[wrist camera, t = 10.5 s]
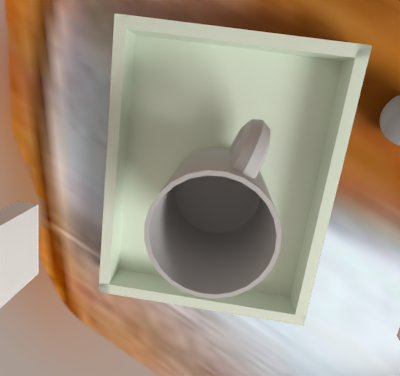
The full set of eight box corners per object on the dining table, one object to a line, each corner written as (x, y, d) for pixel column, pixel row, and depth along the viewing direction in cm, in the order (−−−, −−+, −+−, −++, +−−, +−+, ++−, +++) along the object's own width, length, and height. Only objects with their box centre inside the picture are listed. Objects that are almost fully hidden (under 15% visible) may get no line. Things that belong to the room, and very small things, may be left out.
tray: (128, 22, 25) (114, 13, 22) (355, 51, 24) (371, 45, 21) (111, 272, 30) (98, 291, 27) (296, 302, 29) (303, 325, 26)
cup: (156, 211, 28) (123, 263, 19) (212, 93, 25) (202, 92, 16) (238, 250, 28) (241, 319, 19) (301, 137, 25) (338, 160, 17)
